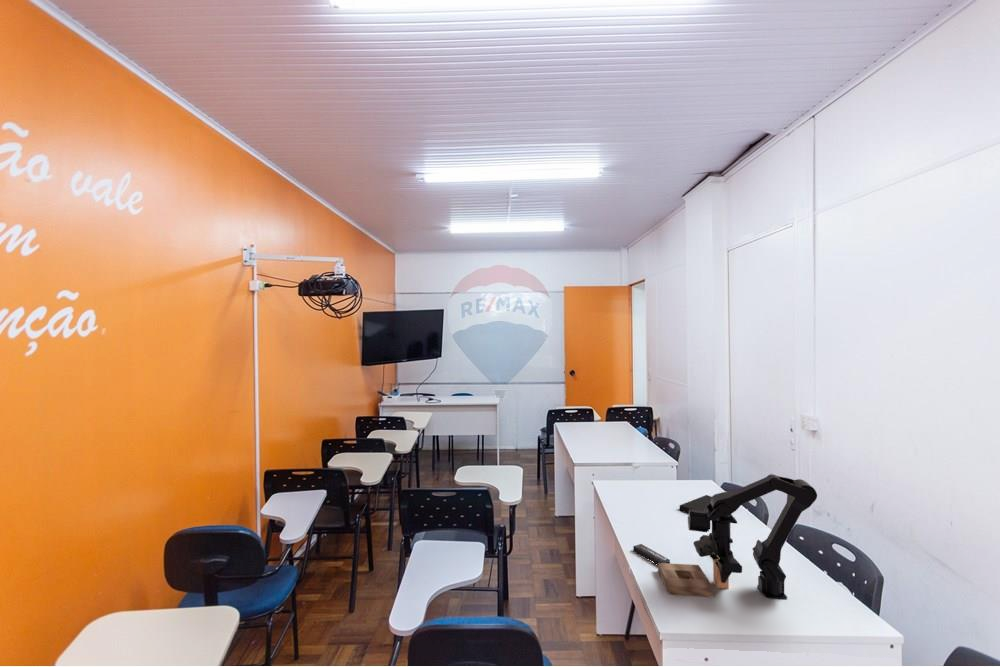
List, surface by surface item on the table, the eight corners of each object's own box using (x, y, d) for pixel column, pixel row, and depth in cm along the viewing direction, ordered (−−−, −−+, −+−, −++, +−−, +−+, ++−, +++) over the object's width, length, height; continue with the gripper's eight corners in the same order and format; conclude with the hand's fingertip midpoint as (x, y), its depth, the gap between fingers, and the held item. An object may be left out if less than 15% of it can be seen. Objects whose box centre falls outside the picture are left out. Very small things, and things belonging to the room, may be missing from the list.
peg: (724, 582, 152) (724, 559, 152) (728, 588, 148) (728, 564, 148) (713, 582, 152) (713, 558, 152) (717, 588, 149) (717, 564, 149)
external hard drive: (679, 511, 213) (679, 505, 213) (706, 500, 226) (706, 494, 226) (707, 521, 202) (707, 515, 202) (733, 509, 215) (733, 503, 215)
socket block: (698, 573, 158) (698, 564, 158) (713, 596, 144) (713, 587, 144) (658, 571, 159) (658, 562, 159) (669, 594, 145) (669, 585, 145)
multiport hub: (662, 569, 161) (662, 563, 161) (632, 552, 174) (632, 546, 174) (670, 566, 163) (670, 560, 163) (641, 549, 176) (641, 543, 176)
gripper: (687, 520, 160) (687, 563, 160) (706, 545, 142) (706, 594, 142) (719, 522, 159) (719, 565, 159) (742, 547, 141) (742, 596, 141)
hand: (720, 579), depth 150 cm, fingers closed on peg, 4 cm apart
